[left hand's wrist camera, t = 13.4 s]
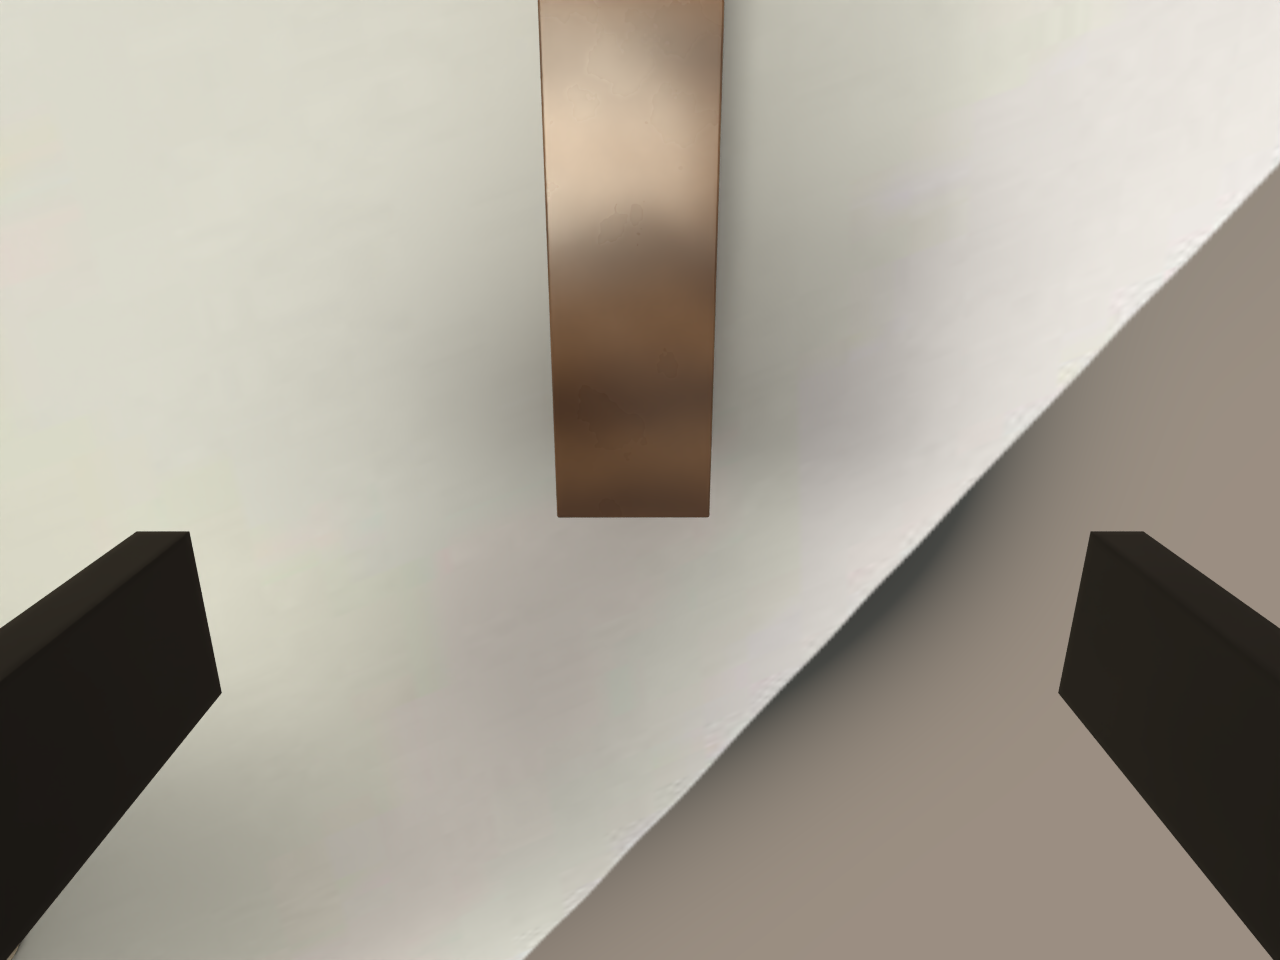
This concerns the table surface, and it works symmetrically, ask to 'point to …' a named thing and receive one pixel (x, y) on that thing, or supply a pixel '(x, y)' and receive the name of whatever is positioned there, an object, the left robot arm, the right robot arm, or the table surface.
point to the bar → (632, 249)
